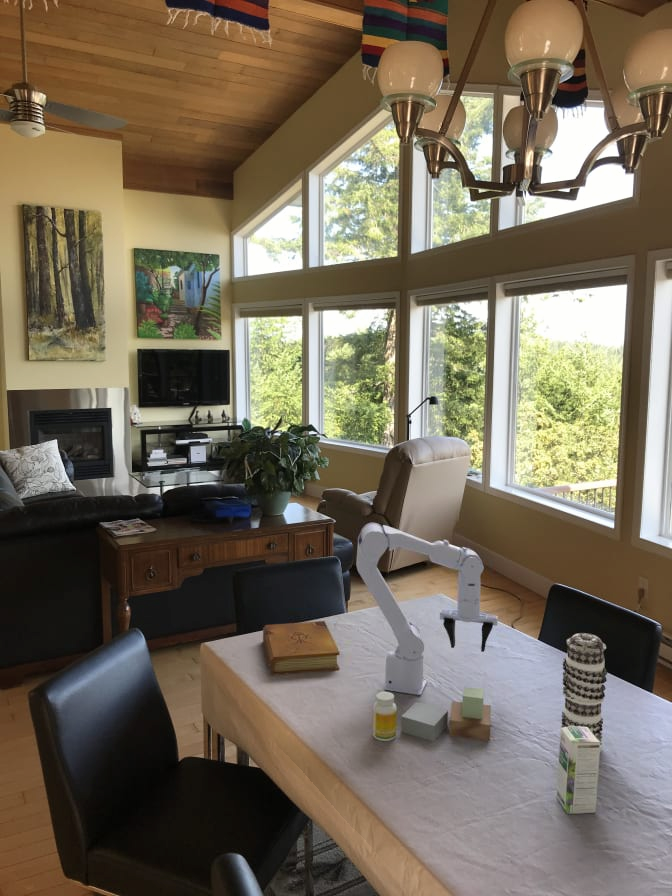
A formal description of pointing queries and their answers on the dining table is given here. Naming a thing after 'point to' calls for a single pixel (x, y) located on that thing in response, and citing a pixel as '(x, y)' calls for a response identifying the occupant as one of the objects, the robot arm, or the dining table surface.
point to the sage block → (472, 703)
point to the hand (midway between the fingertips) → (467, 648)
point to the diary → (300, 647)
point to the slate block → (424, 721)
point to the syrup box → (578, 770)
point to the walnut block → (469, 723)
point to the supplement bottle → (384, 717)
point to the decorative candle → (584, 683)
